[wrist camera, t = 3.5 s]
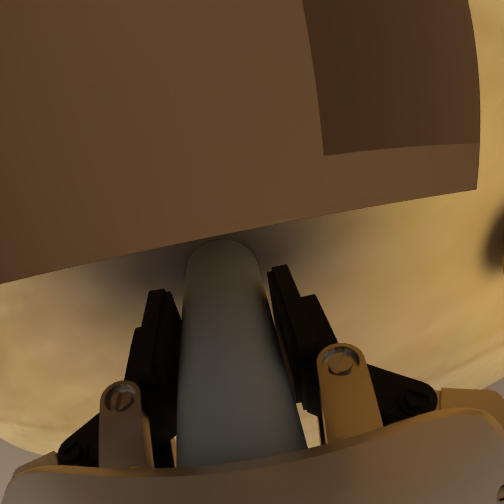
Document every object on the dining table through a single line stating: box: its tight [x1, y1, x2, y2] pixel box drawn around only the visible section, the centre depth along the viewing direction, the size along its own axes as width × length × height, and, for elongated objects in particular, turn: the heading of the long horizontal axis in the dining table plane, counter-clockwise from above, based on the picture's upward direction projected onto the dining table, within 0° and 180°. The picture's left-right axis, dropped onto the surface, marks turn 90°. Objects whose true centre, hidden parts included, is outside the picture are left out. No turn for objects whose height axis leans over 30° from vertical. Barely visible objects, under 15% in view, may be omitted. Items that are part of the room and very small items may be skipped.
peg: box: [176, 239, 308, 467], centre depth 9 cm, size 3×3×12 cm
